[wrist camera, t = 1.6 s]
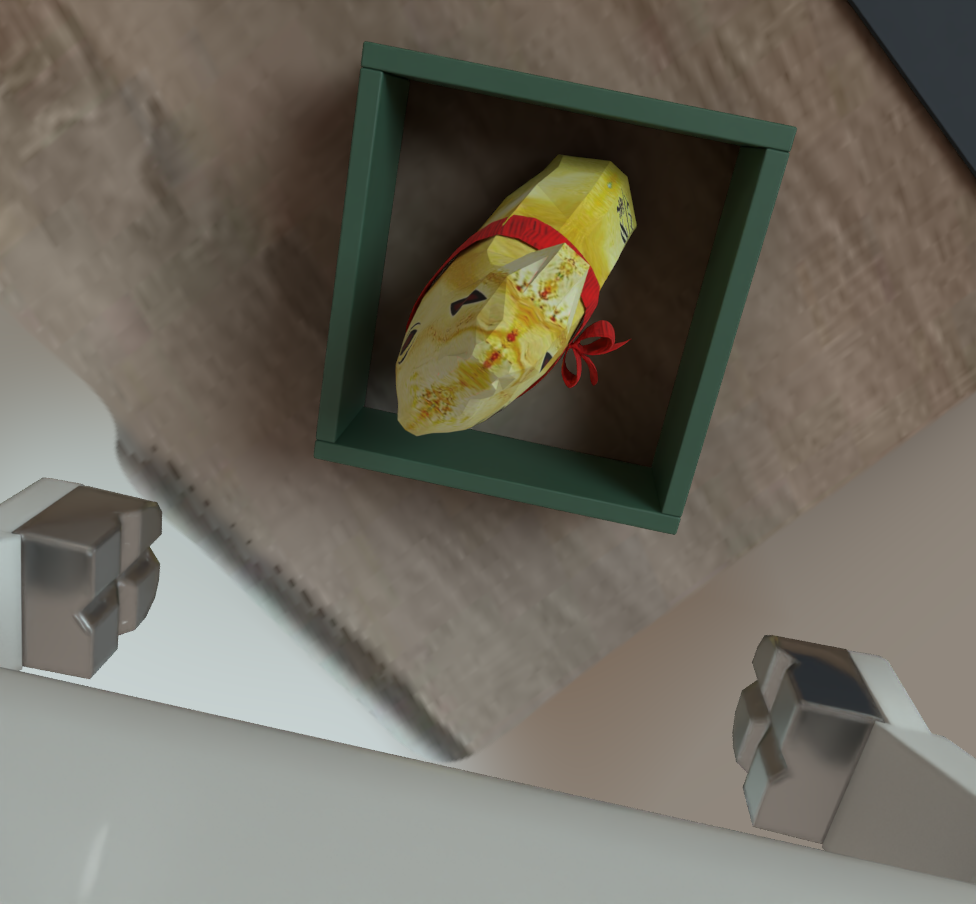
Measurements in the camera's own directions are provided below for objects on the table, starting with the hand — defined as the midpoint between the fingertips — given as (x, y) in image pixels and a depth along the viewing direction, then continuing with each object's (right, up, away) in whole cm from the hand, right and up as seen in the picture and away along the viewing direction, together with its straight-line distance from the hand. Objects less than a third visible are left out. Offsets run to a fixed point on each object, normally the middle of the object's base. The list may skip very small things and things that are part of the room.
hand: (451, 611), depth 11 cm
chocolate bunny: (+3, +9, +24) cm, 26 cm away
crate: (+3, +9, +24) cm, 26 cm away
